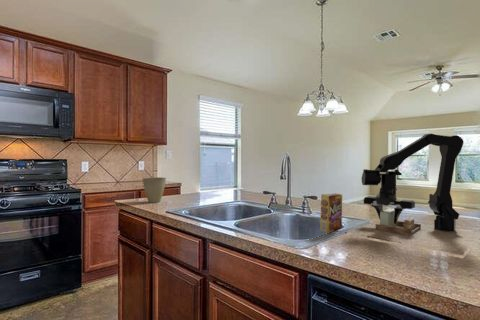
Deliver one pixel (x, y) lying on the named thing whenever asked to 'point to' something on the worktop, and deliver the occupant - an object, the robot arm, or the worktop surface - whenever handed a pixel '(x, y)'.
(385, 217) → the pale grey rectangular block
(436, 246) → the worktop surface
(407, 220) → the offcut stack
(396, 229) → the rack
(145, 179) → the plant pot
